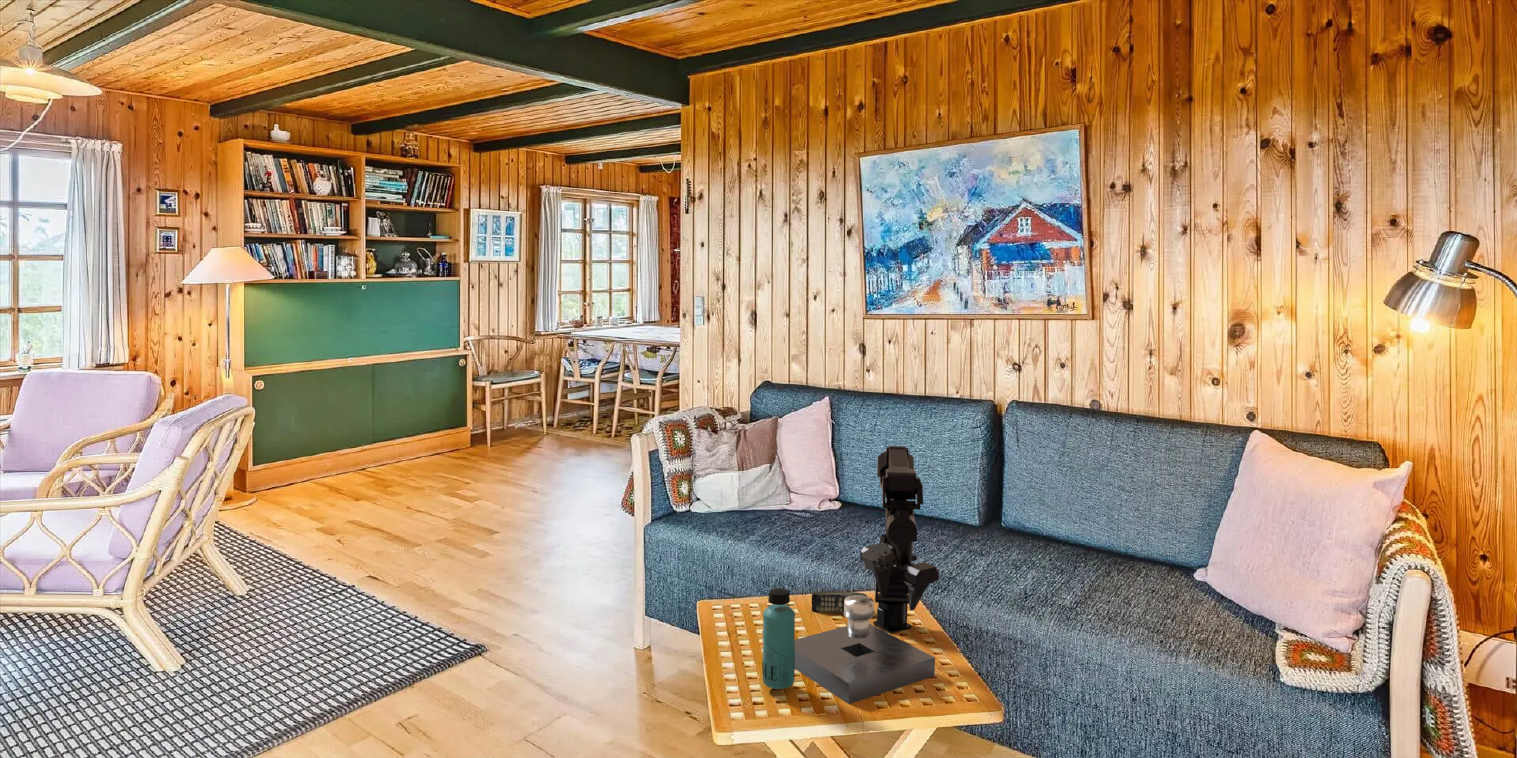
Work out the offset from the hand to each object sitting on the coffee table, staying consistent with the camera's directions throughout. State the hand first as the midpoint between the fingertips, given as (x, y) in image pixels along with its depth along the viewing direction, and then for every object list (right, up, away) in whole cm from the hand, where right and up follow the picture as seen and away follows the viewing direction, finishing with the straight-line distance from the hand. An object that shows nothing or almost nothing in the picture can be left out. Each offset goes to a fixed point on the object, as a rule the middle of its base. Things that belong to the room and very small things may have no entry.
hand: (897, 602), depth 185 cm
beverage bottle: (-25, -14, -14) cm, 32 cm away
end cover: (-9, -5, -5) cm, 11 cm away
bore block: (-9, -12, -4) cm, 16 cm away
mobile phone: (-9, -9, +27) cm, 30 cm away
